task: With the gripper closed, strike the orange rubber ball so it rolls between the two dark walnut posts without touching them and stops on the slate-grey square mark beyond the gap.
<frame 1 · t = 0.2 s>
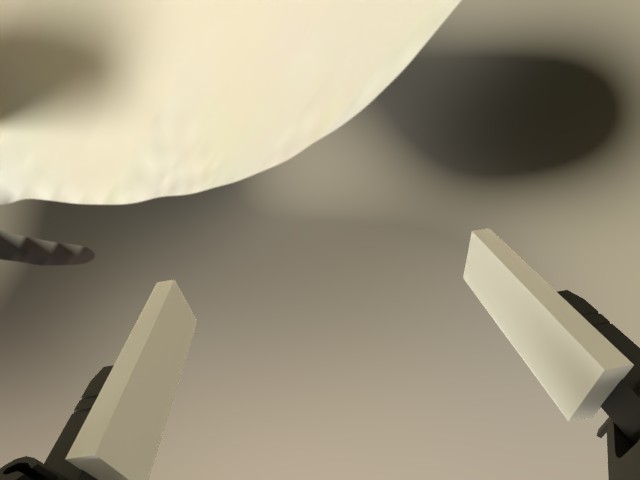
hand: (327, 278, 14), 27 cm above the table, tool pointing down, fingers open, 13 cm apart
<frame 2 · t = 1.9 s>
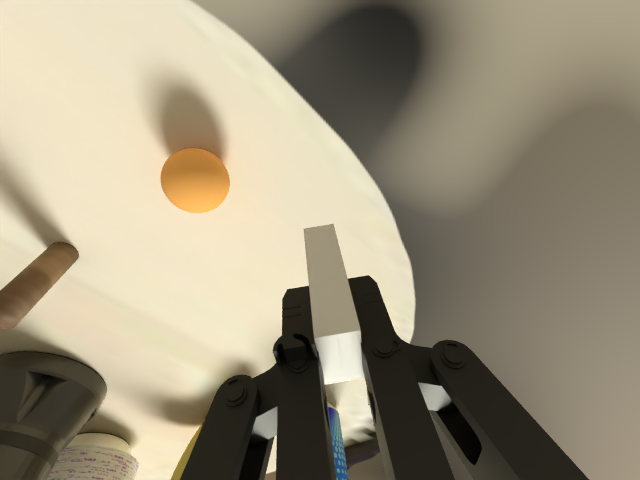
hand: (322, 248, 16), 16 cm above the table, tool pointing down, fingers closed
ball: (196, 181, 26), on the table
post 2: (64, 252, 32), on the table
paper bowls: (100, 442, 54), on the table
banana: (221, 413, 53), on the table
beer can: (314, 409, 55), on the table
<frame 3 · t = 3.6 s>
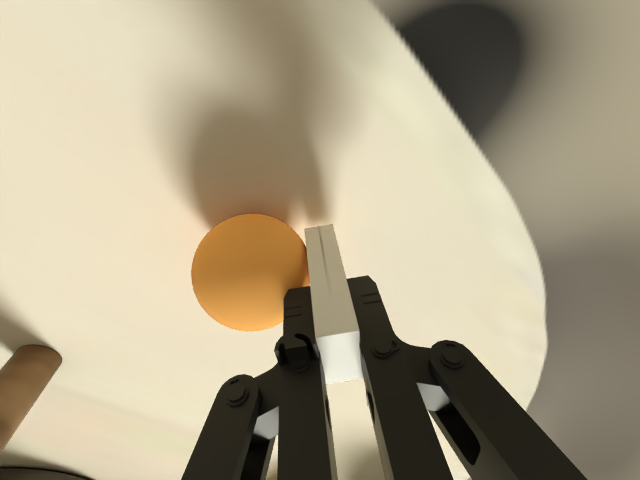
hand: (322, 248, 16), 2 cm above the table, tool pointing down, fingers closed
ball: (253, 271, 14), on the table, touching gripper
post 2: (39, 357, 20), on the table
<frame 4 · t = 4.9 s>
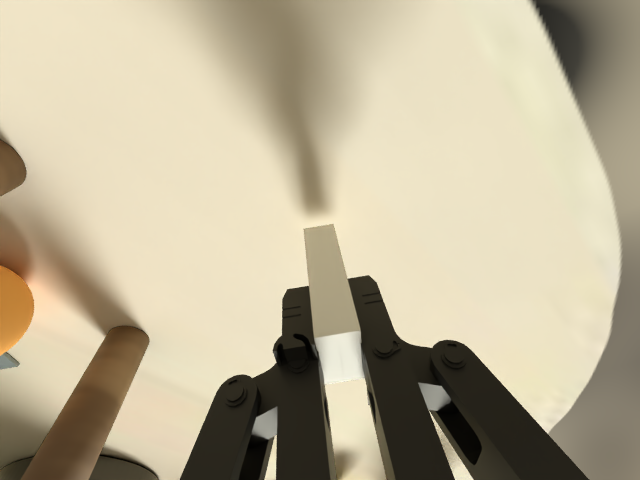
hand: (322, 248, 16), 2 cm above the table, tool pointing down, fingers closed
post 2: (128, 338, 21), on the table
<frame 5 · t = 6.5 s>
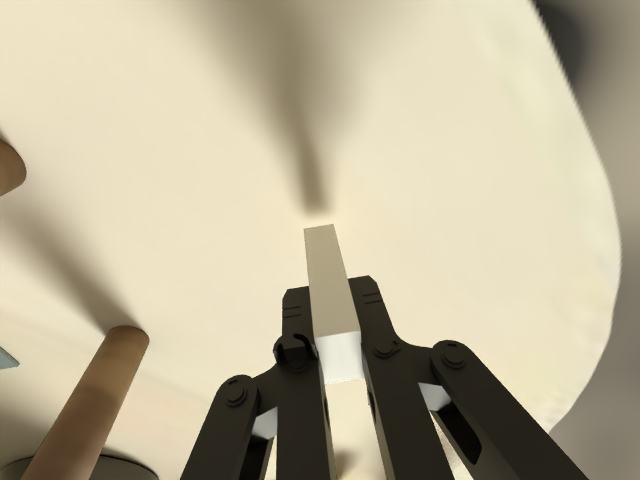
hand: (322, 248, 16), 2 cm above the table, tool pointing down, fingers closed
post 2: (128, 338, 21), on the table
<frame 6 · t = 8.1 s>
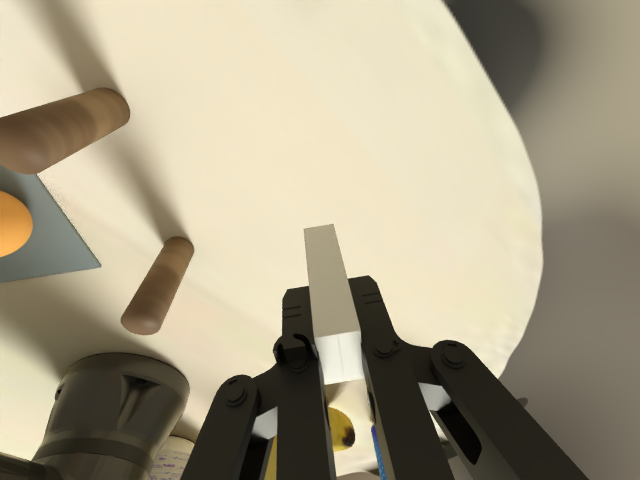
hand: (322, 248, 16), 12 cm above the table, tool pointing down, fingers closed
post 2: (179, 248, 29), on the table
post 1: (110, 108, 22), on the table
paper bowls: (168, 445, 52), on the table
banana: (297, 419, 50), on the table
beer can: (393, 416, 52), on the table
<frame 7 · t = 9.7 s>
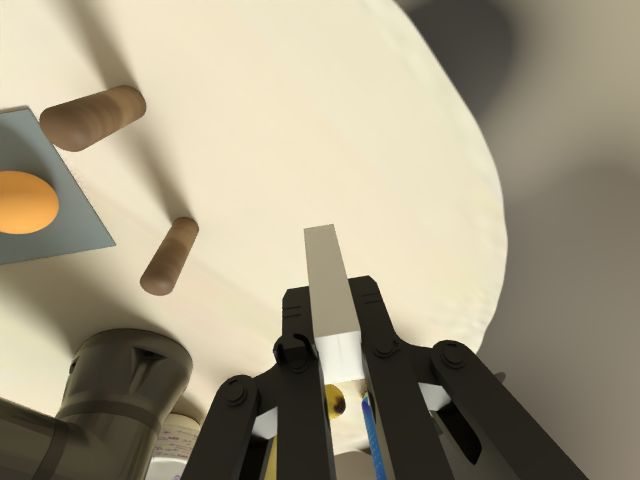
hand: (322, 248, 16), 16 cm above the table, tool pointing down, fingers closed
ball: (17, 202, 27), on the table
post 2: (186, 227, 33), on the table
post 1: (129, 102, 25), on the table
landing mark: (6, 197, 29), on the table
paper bowls: (171, 424, 55), on the table
banana: (293, 395, 54), on the table
beer can: (382, 392, 56), on the table
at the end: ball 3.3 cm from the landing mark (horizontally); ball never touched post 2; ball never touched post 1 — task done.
